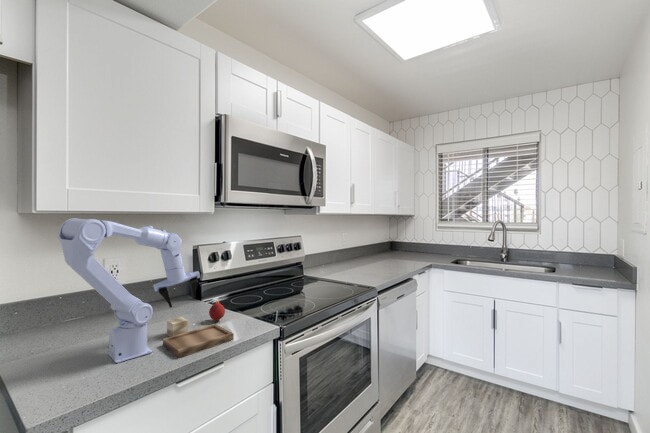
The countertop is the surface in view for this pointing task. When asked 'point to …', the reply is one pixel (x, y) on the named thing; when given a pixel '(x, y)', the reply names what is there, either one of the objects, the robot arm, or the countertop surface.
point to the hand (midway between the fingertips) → (182, 302)
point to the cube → (177, 326)
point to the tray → (197, 340)
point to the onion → (217, 311)
